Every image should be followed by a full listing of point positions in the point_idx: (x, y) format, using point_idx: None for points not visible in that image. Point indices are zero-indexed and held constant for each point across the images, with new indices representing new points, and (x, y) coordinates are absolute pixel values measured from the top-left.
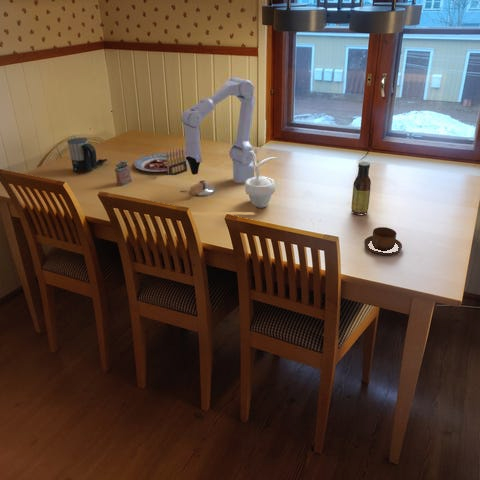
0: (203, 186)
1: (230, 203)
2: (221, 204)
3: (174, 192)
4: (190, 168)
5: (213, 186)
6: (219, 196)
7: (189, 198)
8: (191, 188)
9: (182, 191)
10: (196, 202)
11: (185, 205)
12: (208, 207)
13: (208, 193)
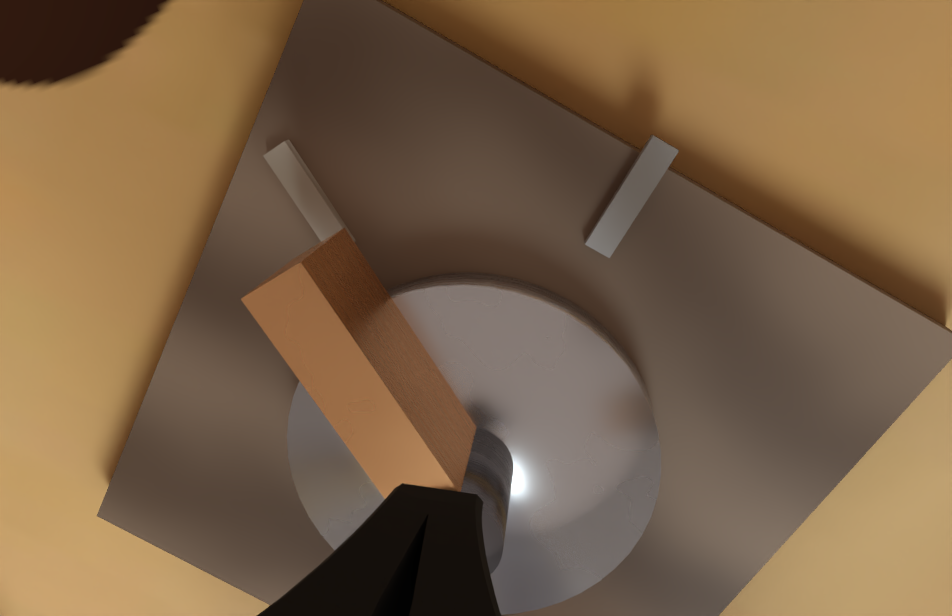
0: None
1: (63, 539)
2: (67, 451)
3: (792, 72)
4: (454, 573)
5: None
6: None
7: (285, 153)
8: (298, 260)
9: (628, 172)
10: None
11: (189, 27)
12: (25, 284)
13: (296, 456)
